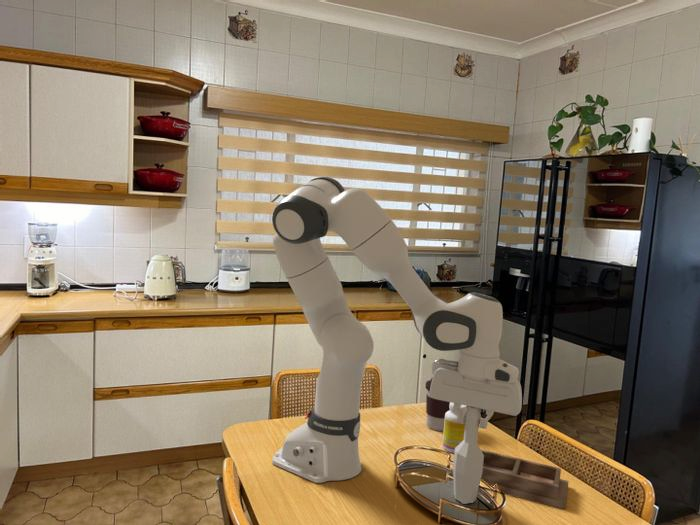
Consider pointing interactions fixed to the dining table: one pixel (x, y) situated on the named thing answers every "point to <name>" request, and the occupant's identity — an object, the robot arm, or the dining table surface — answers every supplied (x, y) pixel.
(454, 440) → the supplement bottle
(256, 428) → the dining table surface
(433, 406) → the coffee cup
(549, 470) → the slot rack
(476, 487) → the low poly bottle
